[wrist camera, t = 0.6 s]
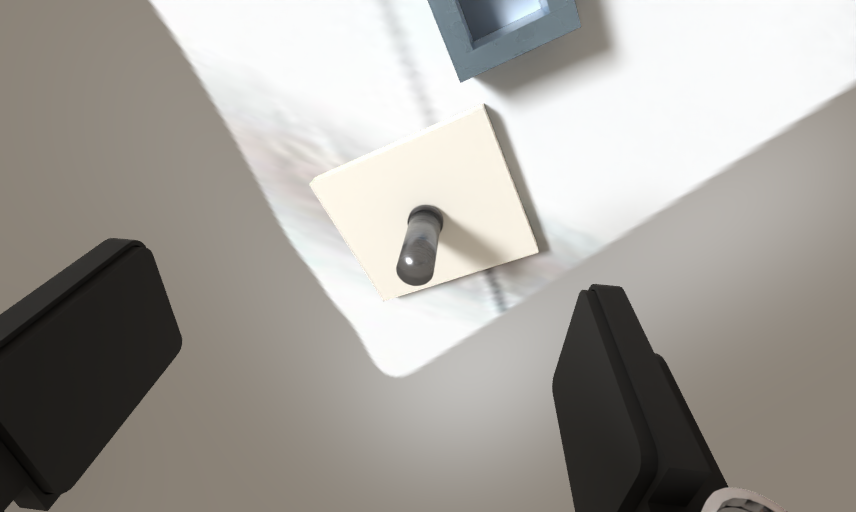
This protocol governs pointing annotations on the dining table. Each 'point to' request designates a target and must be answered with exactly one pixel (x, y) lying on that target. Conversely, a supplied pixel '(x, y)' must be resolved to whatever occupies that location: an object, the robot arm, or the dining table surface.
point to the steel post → (420, 246)
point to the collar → (500, 34)
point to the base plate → (430, 202)
